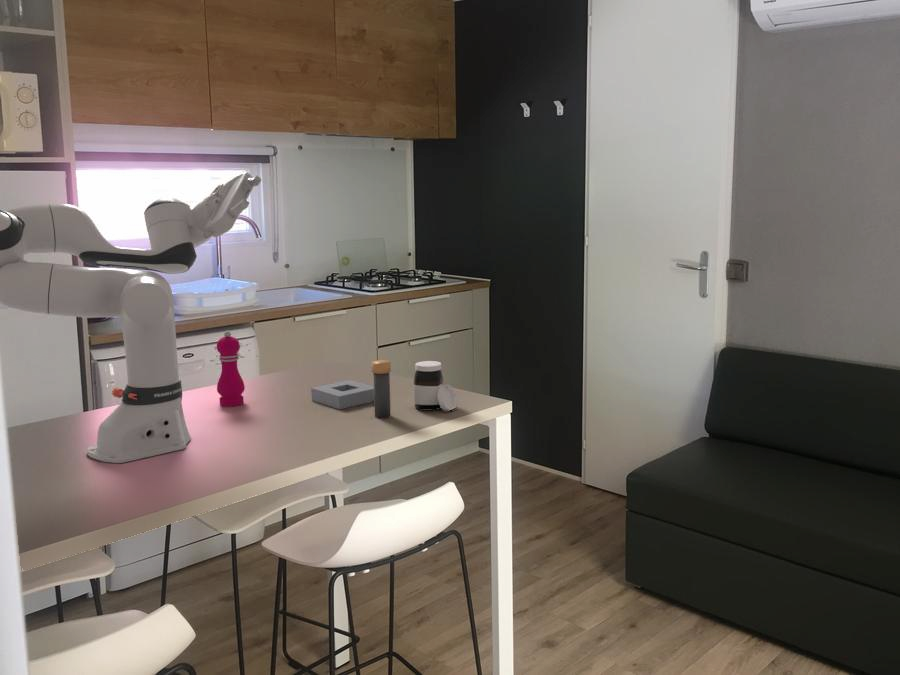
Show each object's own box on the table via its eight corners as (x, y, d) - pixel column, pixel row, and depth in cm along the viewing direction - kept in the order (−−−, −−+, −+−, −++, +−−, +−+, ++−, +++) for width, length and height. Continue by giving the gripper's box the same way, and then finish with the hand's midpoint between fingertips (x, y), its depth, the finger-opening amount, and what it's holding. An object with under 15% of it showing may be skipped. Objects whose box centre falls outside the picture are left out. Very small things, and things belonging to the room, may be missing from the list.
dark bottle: (383, 419, 211) (381, 365, 208) (369, 416, 214) (367, 362, 211) (396, 415, 214) (394, 361, 212) (382, 412, 217) (380, 359, 215)
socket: (339, 409, 221) (339, 396, 220) (311, 400, 230) (311, 387, 230) (378, 400, 230) (378, 387, 229) (350, 392, 239) (350, 380, 238)
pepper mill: (241, 407, 225) (237, 333, 221) (214, 407, 225) (209, 333, 221) (248, 400, 232) (244, 328, 228) (222, 400, 232) (217, 328, 228)
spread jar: (417, 401, 228) (416, 359, 226) (459, 402, 227) (458, 359, 225) (411, 413, 216) (409, 369, 214) (455, 414, 215) (454, 369, 213)
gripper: (191, 231, 202) (228, 207, 195) (220, 181, 216) (256, 157, 209) (211, 249, 205) (248, 226, 198) (238, 198, 219) (274, 175, 212)
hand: (252, 190), depth 203 cm, fingers open, 8 cm apart
